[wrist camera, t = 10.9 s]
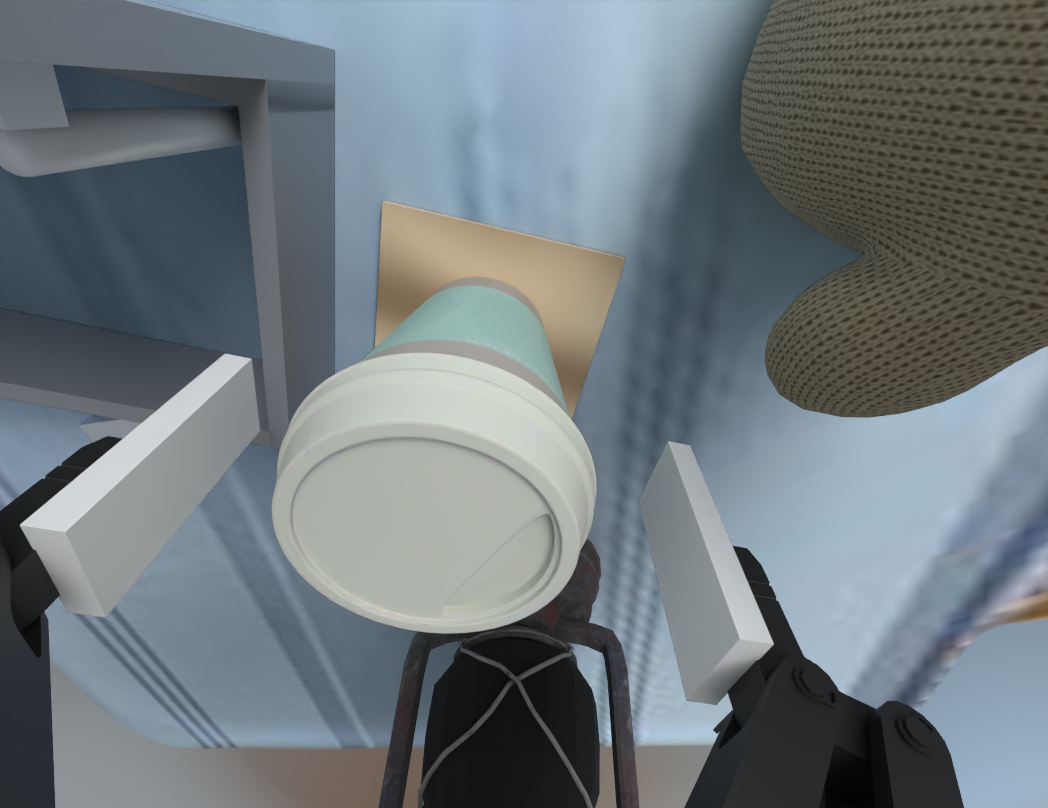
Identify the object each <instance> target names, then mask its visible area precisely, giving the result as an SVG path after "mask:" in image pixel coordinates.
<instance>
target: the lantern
mask: <svg viewBox="0 0 1048 808" xmlns="http://www.w3.org/2000/svg"><path fill="white" fill-rule="evenodd" d="M600 577H601V568H600V558H599V556H598V554H597V552H596V550H595V548H594V546H593V544H592V543H591V542H590V541H589V540H588V539H586V541H585V543H584V545H583V547H582V548H581V550H580V553H579V557H578V561H577V565H576V567H575V569H574V572H573V574H572V576H571V578H570V580H569V581H568V582H567V584H566V585H565V587H564V588H563V589H562V591H561V592H560V593H559V594H558V595H557V596H556V597H555V598H554V599H553V600H551V601H550V602H549V603H548V604H547V605H545V606H544V607H542V608H541V609H540V610H538V611H537V612H535V613H533V614H531V615H529V616H527V617H525V618H523V619H521V620H518V621H516V622H513V623H511V624H508V625H505V626H501V627H498V628H494V629H489V630H484V631H477V632H469V633H446V634H443V633H428V632H420V631H418V632H417V634H416V635H415V637H414V638H413V640H412V643H411V646H410V648H409V651H408V654H407V657H406V660H405V663H404V669H403V674H402V680H401V685H400V691H399V697H398V702H397V708H396V713H395V719H394V724H393V730H392V735H391V741H390V747H389V752H388V758H387V763H386V769H385V774H384V780H383V785H382V791H381V797H380V802H379V808H402V806H403V800H404V794H405V788H406V781H407V775H408V769H409V763H410V757H411V751H412V745H413V739H414V732H415V726H416V720H417V714H418V708H419V702H420V696H421V689H422V683H423V677H424V673H425V668H426V664H427V660H428V656H429V653H430V650H431V649H433V648H436V647H438V646H441V645H444V644H446V643H451V642H456V641H461V642H460V646H459V648H458V649H457V651H456V653H455V655H454V662H453V663H452V664H451V666H450V667H449V668H448V669H447V670H446V672H445V673H444V674H443V675H442V677H441V678H440V679H439V680H438V681H437V683H436V684H435V685H434V691H433V696H432V702H431V707H430V712H429V718H428V723H427V730H426V736H425V746H424V758H423V769H422V781H421V787H420V789H419V790H418V808H595V806H596V803H597V799H598V796H599V752H600V750H599V749H600V743H599V732H598V721H597V710H596V703H595V699H594V696H593V692H592V689H591V687H590V686H589V684H588V683H587V681H586V680H585V678H584V677H583V675H582V674H581V672H580V671H579V670H578V667H577V660H576V657H575V655H574V654H573V652H572V650H573V649H574V648H573V647H572V646H571V645H570V644H569V643H568V642H570V643H574V644H579V645H583V646H587V647H590V648H592V649H594V650H596V651H599V652H601V653H603V656H604V659H605V666H606V673H607V680H608V692H609V706H610V720H611V734H612V748H613V762H614V775H615V790H616V804H617V808H639V798H638V787H637V775H636V764H635V752H634V741H633V729H632V718H631V706H630V695H629V683H628V672H627V666H626V662H625V658H624V654H623V650H622V645H621V643H620V642H619V640H618V639H617V637H616V635H615V634H614V632H613V631H612V630H610V629H607V628H604V627H602V626H599V625H597V624H592V623H588V622H589V619H590V616H591V612H592V604H593V603H594V601H595V599H596V596H597V593H598V590H599V580H600ZM423 801H424V805H423Z"/></svg>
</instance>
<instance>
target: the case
mask: <svg viewBox="0 0 1048 808" xmlns="http://www.w3.org/2000/svg"><path fill="white" fill-rule="evenodd" d="M53 64H54V65H68V66H77V67H81V68H86V69H90V70H94V71H98V72H102V73H106V74H110V75H114V76H118V77H122V78H126V79H130V80H134V81H138V82H142V83H146V84H150V85H154V86H158V87H162V88H166V89H170V90H174V91H178V92H183V93H187V94H191V95H195V96H199V97H203V98H207V99H211V100H215V101H219V102H223V103H227V104H231V105H235V106H218V107H176V108H135V109H93V110H65V109H64V105H63V101H62V98H61V94H60V90H59V86H58V83H57V79H56V75H55V71H54V68H53ZM235 145H242V149H243V160H244V171H245V181H246V192H247V202H248V213H249V223H250V234H251V245H252V255H253V266H254V276H255V287H256V298H257V308H258V319H259V329H260V340H261V351H262V361H261V360H256V359H252V366H253V374H254V383H255V391H256V400H257V409H258V417H259V426H260V431H259V433H258V434H257V435H256V436H255V437H254V439H253V440H252V441H251V442H250V443H251V444H257V445H262V446H268V447H273V448H278V449H280V447H281V444H282V442H283V439H284V437H285V435H286V433H287V431H288V428H289V425H290V423H291V420H292V418H293V416H294V414H295V413H296V411H297V409H298V408H299V406H300V405H301V403H302V402H303V401H304V400H305V398H306V397H307V396H308V395H309V394H310V393H311V392H312V391H313V390H314V389H315V388H316V387H317V386H319V385H320V384H321V383H322V382H324V381H325V380H327V379H328V378H329V377H331V376H333V375H334V331H335V50H333V49H329V48H325V47H321V46H317V45H314V44H310V43H306V42H302V41H298V40H295V39H291V38H287V37H283V36H279V35H276V34H272V33H268V32H264V31H260V30H257V29H253V28H249V27H245V26H241V25H238V24H234V23H230V22H226V21H222V20H219V19H215V18H211V17H207V16H203V15H200V14H196V13H192V12H188V11H184V10H181V9H177V8H173V7H169V6H165V5H162V4H158V3H154V2H150V1H146V0H0V166H1V167H2V168H4V169H5V170H7V171H8V172H10V173H12V174H15V175H17V176H21V177H33V176H40V175H46V174H53V173H59V172H66V171H72V170H79V169H85V168H92V167H98V166H105V165H111V164H118V163H125V162H131V161H138V160H144V159H151V158H157V157H164V156H170V155H177V154H183V153H190V152H196V151H203V150H209V149H216V148H222V147H229V146H235ZM224 354H226V353H221V352H216V351H211V350H206V349H201V348H196V347H191V346H186V345H181V344H176V343H171V342H166V341H161V340H156V339H151V338H146V337H141V336H136V335H131V334H126V333H121V332H116V331H111V330H106V329H101V328H96V327H91V326H86V325H81V324H76V323H71V322H66V321H61V320H56V319H51V318H46V317H41V316H36V315H31V314H26V313H21V312H16V311H11V310H6V309H1V308H0V398H5V399H11V400H16V401H22V402H27V403H33V404H38V405H43V406H49V407H54V408H60V409H65V410H71V411H76V412H82V413H87V414H93V415H98V416H104V417H109V418H115V419H120V420H125V421H131V422H136V423H142V422H144V421H145V420H146V419H147V418H148V417H150V416H151V415H152V414H153V413H154V412H156V411H157V410H158V409H159V408H160V407H162V406H163V405H164V404H165V403H166V402H168V401H169V400H170V399H171V398H172V397H174V396H175V395H176V394H177V393H178V392H180V391H181V390H182V389H183V388H184V387H186V386H187V385H188V384H189V383H190V382H192V381H193V380H194V379H195V378H196V377H198V376H199V375H200V374H201V373H202V372H203V371H205V370H206V369H207V368H208V367H209V366H211V365H212V364H213V363H214V362H215V361H217V360H218V359H219V358H220V357H221V356H223V355H224ZM230 355H231V354H230ZM235 356H236V355H235ZM240 357H241V356H240Z"/></svg>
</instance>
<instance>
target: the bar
mask: <svg viewBox="0 0 1048 808" xmlns="http://www.w3.org/2000/svg"><path fill="white" fill-rule="evenodd" d="M140 424H141V423H136V422H131V421H125V420H120V419H115V418H109V417H104V416H98V415H97V416H91V417H90V418H88V419H87V420H85V421H84V422H82V423H81V424H80V425H79V426H80V428H81V429H82V430H83V431H84V432H85V434H86V435H87V436H88V437H89V438H90V440H91V441H92V442H95V441H97V440H100V439H102V438H104V437H106V436H111V437H117V438H124V437H126V436H127V435H128V434H129V433H130V432H132V431H133V430H134V429H135V428H136V427H138V426H139V425H140Z"/></svg>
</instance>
